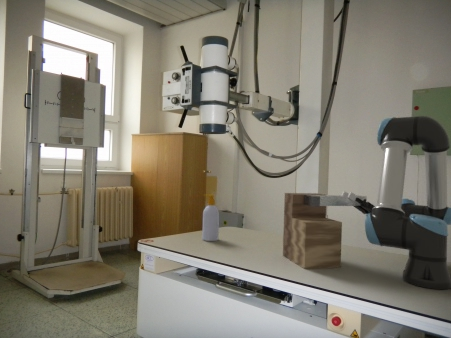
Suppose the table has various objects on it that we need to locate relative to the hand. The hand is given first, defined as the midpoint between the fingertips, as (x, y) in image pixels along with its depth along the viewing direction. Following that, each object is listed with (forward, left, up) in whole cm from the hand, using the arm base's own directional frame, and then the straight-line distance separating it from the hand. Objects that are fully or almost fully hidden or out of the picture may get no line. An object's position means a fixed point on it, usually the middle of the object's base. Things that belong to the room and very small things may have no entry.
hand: (345, 194), depth 144 cm
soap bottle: (+52, +46, -29) cm, 76 cm away
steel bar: (0, +4, -5) cm, 6 cm away
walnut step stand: (+4, +13, -29) cm, 32 cm away
